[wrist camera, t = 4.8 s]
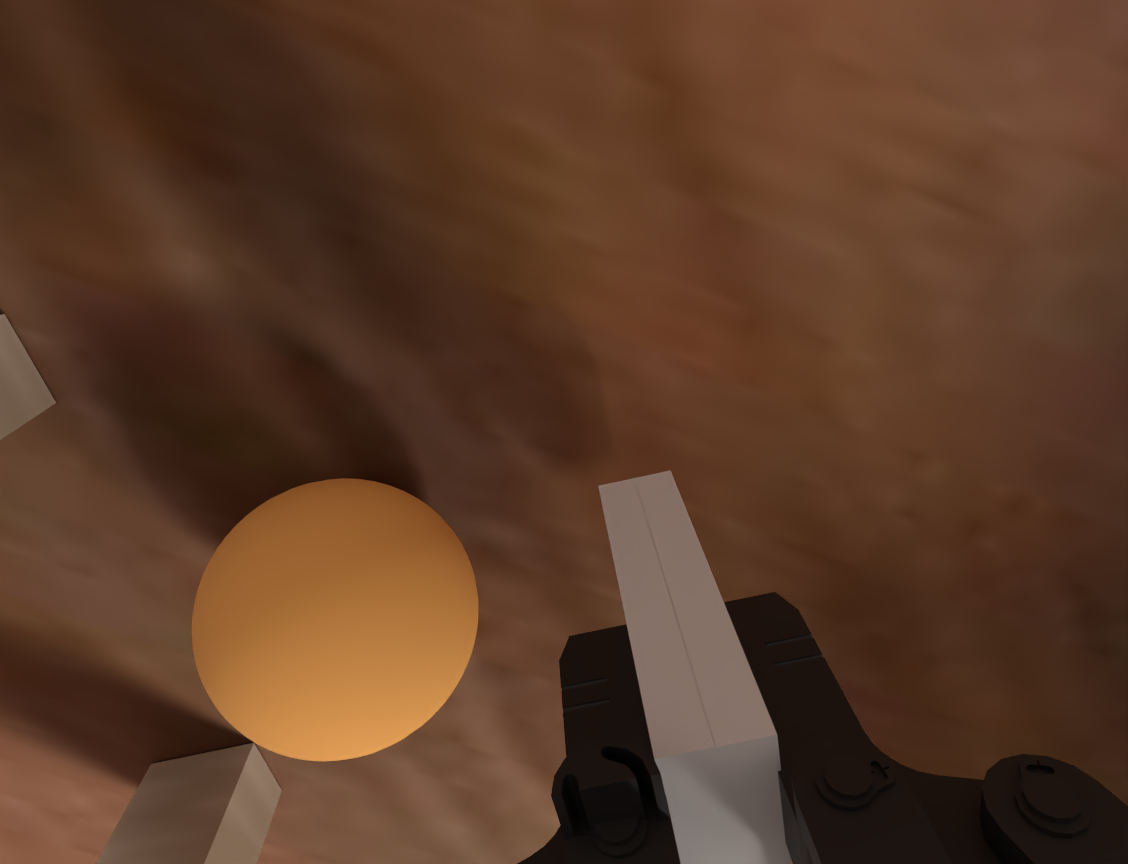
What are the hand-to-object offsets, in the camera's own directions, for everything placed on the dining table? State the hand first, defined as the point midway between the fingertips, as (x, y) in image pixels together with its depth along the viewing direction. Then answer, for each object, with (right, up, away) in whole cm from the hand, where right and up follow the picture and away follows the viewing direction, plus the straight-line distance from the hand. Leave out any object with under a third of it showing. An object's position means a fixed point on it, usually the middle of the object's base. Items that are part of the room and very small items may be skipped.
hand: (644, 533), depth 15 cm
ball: (-6, -2, 0) cm, 6 cm away
